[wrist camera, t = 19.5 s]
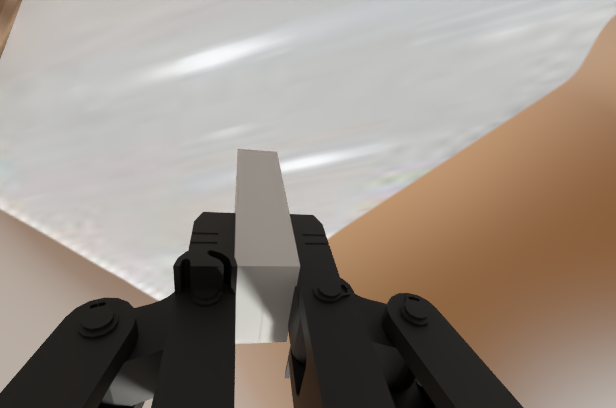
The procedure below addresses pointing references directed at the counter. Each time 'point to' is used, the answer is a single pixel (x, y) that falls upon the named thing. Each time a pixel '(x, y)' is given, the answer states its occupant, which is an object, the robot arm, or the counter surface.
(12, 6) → the brown wooden board
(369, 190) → the counter surface
